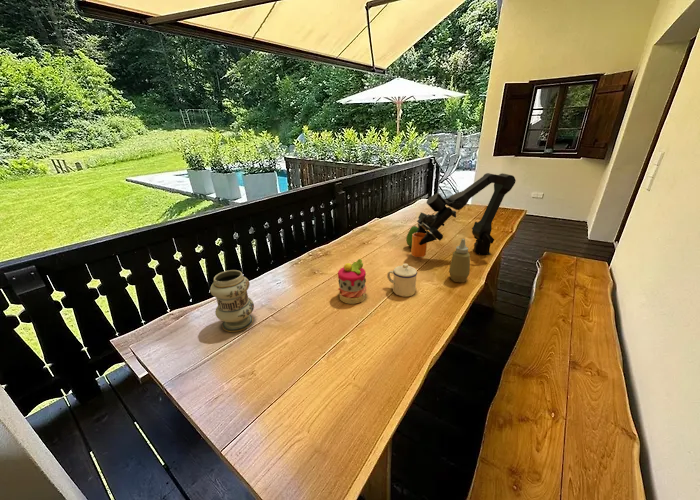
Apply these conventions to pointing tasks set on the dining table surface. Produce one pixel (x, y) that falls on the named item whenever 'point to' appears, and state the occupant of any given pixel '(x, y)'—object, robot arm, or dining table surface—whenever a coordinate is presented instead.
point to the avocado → (410, 233)
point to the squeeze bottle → (460, 263)
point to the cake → (352, 282)
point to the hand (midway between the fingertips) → (416, 241)
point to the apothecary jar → (232, 300)
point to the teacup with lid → (403, 280)
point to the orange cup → (418, 245)
